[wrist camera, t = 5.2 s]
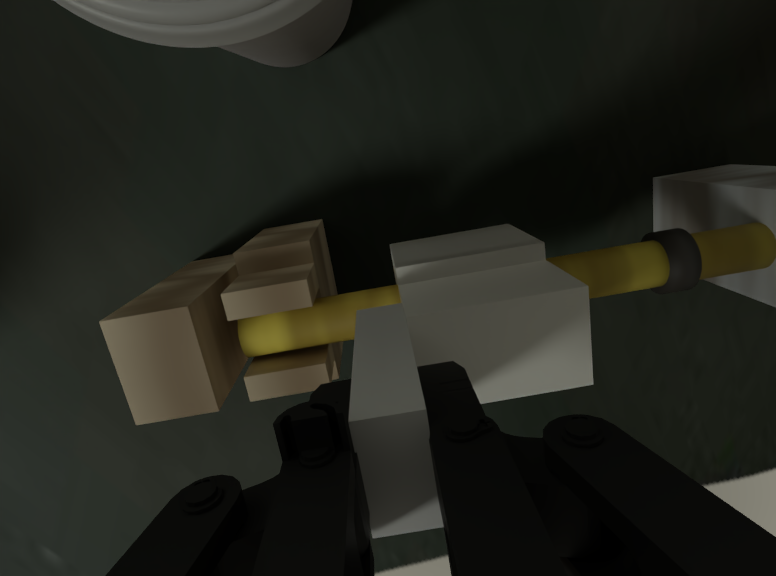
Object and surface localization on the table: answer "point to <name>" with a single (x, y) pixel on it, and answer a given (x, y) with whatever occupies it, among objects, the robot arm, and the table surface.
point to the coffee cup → (226, 25)
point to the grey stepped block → (495, 311)
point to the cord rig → (338, 312)
